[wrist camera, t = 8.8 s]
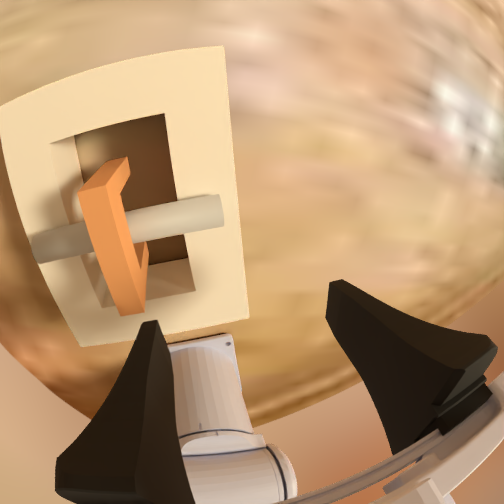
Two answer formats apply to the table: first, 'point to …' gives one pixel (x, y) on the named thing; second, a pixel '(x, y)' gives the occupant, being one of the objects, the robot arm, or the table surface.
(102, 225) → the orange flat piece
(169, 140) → the cream frame with crossbar
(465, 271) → the table surface
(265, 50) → the table surface
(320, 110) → the table surface
